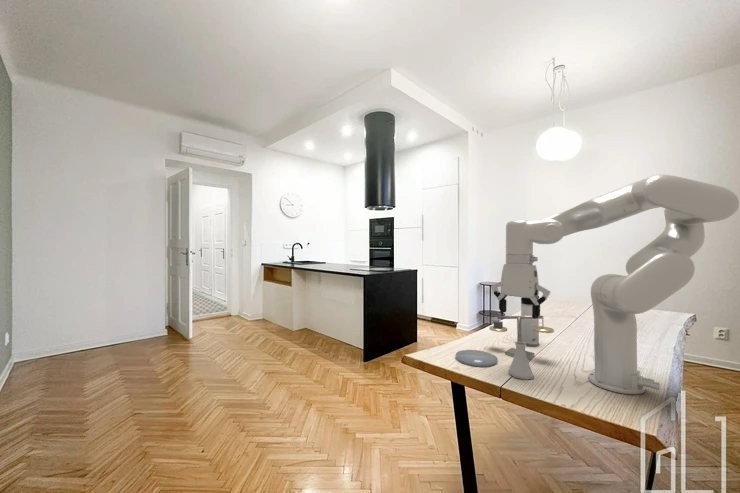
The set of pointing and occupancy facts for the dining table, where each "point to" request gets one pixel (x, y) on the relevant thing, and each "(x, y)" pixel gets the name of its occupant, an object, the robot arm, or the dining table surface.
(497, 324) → the tipped balance
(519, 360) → the flask
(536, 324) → the travel mug
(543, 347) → the dining table surface
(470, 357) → the slate dish
